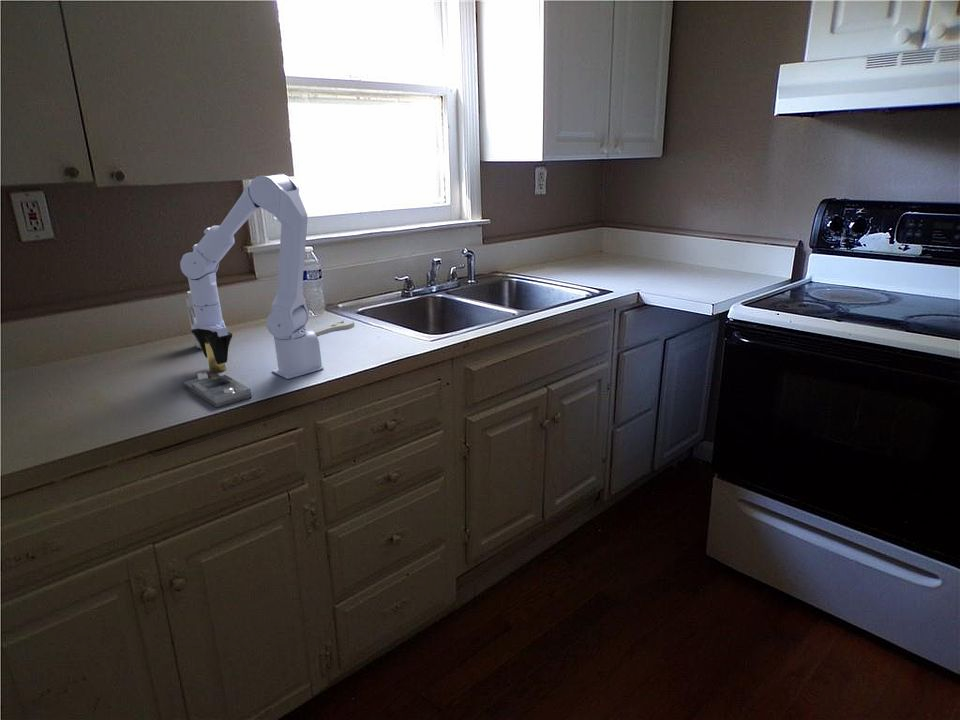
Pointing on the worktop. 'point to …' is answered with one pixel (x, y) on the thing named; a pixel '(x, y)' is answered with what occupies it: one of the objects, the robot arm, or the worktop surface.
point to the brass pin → (213, 360)
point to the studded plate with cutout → (218, 389)
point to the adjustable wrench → (334, 327)
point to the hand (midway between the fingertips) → (216, 359)
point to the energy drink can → (191, 316)
